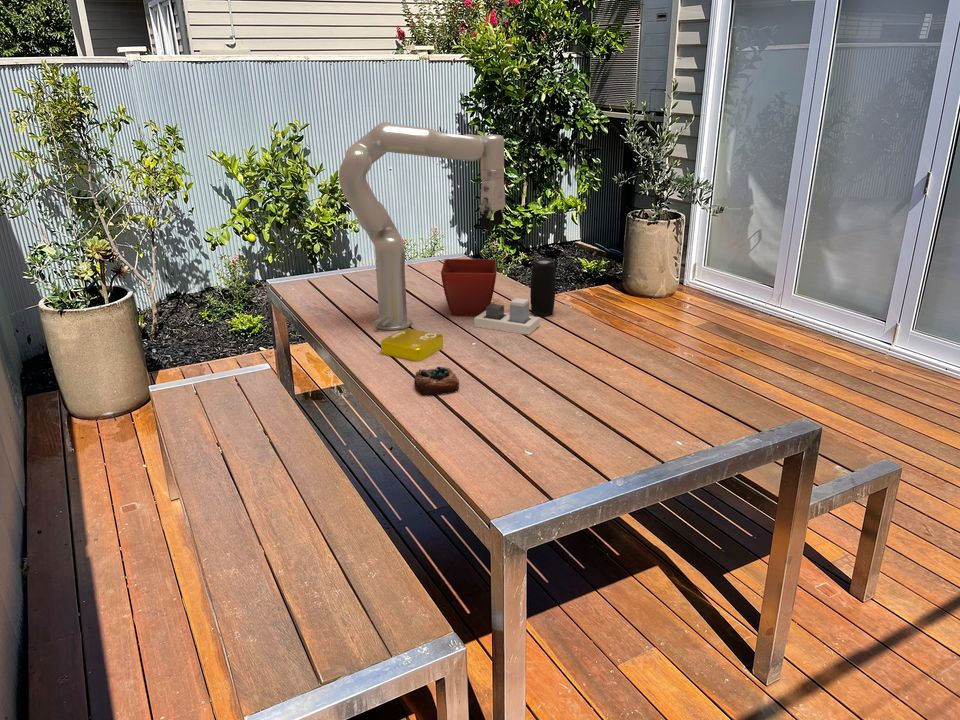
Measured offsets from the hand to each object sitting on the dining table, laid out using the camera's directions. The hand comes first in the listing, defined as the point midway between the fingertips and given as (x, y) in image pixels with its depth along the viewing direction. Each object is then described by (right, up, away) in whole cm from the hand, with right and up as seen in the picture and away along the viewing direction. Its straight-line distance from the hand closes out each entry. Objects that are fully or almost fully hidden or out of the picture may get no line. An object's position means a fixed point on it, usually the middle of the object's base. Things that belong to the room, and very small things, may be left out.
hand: (492, 227), depth 235 cm
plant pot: (-8, -27, +21) cm, 35 cm away
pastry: (-16, -52, -41) cm, 68 cm away
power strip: (+7, -32, +8) cm, 33 cm away
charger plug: (+9, -33, +3) cm, 34 cm away
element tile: (-25, -42, -15) cm, 51 cm away
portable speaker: (+18, -28, +18) cm, 38 cm away
